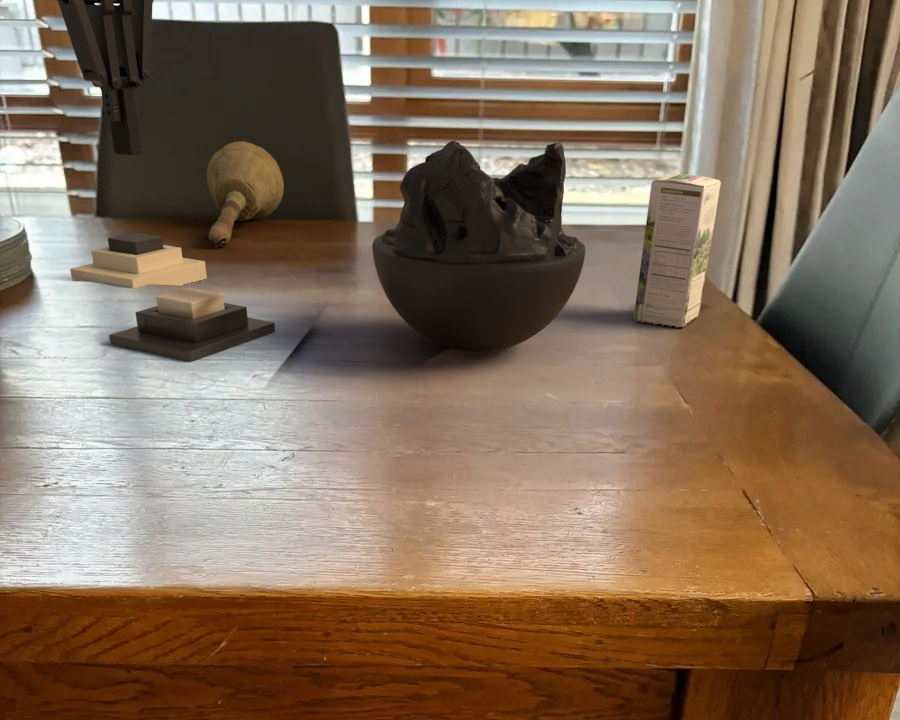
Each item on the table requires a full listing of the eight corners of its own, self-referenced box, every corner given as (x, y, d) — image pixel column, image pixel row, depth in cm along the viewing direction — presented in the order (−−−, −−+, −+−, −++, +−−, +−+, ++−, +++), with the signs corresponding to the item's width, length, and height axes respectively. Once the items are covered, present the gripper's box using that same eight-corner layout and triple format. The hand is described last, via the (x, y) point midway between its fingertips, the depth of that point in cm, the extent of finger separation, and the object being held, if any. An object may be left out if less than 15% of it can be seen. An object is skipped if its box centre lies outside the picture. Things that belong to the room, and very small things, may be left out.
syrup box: (650, 310, 111) (667, 172, 104) (701, 318, 108) (722, 177, 101) (632, 321, 107) (649, 178, 99) (684, 330, 104) (705, 183, 97)
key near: (193, 322, 90) (191, 303, 89) (158, 315, 92) (155, 296, 91) (225, 312, 93) (223, 293, 92) (190, 305, 95) (188, 287, 94)
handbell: (260, 232, 158) (232, 296, 139) (194, 186, 154) (156, 245, 135) (299, 172, 152) (274, 230, 133) (231, 121, 147) (196, 174, 128)
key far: (136, 258, 113) (134, 242, 112) (109, 253, 115) (107, 238, 114) (164, 251, 117) (162, 236, 116) (137, 247, 118) (135, 232, 118)
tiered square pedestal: (192, 376, 88) (186, 331, 86) (112, 358, 92) (105, 315, 90) (276, 344, 97) (273, 303, 95) (200, 329, 101) (195, 289, 99)
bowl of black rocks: (339, 363, 92) (330, 143, 82) (422, 313, 108) (422, 125, 98) (542, 392, 86) (558, 159, 76) (598, 335, 102) (617, 136, 92)
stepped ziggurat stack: (134, 299, 111) (129, 263, 109) (73, 287, 115) (66, 252, 113) (207, 279, 120) (203, 245, 118) (147, 269, 124) (143, 236, 122)
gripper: (64, -115, 90) (107, 162, 103) (166, -102, 100) (194, 150, 112) (10, -112, 94) (58, 157, 106) (114, -99, 103) (147, 146, 115)
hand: (128, 153), depth 109 cm, fingers closed
